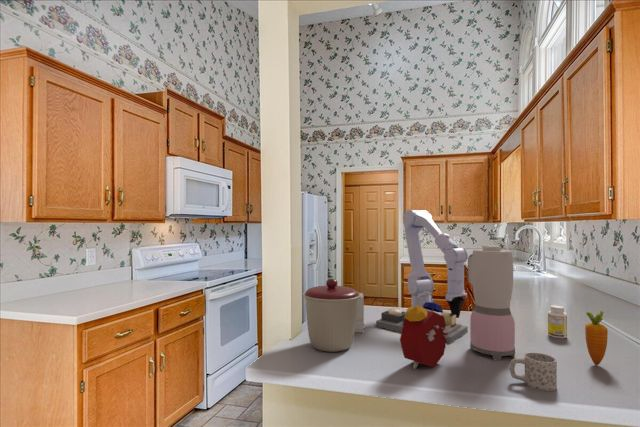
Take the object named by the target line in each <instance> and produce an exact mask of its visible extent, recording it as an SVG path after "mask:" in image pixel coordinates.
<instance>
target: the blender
mask: <svg viewBox="0 0 640 427" xmlns="http://www.w3.org/2000/svg"><path fill="white" fill-rule="evenodd" d="M513 259H514V258H513V252H512V251H511V250H507V249H506V250H505V249H502V246H501V245H482V248H480V249H479V248H476V249H473V250H472V254H470V255H468V257H467V281H468V283H469V284H470V285H471V286H472V292H473V298H474V307H473V310H472V311H471V314H470V322H469V323H470V327H469V328H470V329H469V330H470V335H469V336H470V341H469V342H470V344H469V346H470V350H474V351H476V352H478V353H482V354H485V355H491V356H492V359H493V360H497V361H500V360H502V357H507V356H510V357H511V358H513V359H515V357H516V346H515V344H516V337H515V336H516V322H515V317H514V316H513V314H512V311H511V309H510V308H511V300H512V294H513V288H514V260H513Z"/></svg>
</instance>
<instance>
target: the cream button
mask: <svg viewBox="0 0 640 427" xmlns="http://www.w3.org/2000/svg"><path fill="white" fill-rule="evenodd" d="M387 311H388V314H393V315H401V314H402V312H403V310H402V309H401V308H388V310H387Z"/></svg>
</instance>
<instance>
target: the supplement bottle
mask: <svg viewBox="0 0 640 427" xmlns="http://www.w3.org/2000/svg"><path fill="white" fill-rule="evenodd" d="M547 334H548V336H549V337H552V338H555V339H566V338H567V337H568V315H567V313H566V312H565V307H564V306H562V305H550V309H549V310H548V312H547Z"/></svg>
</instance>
